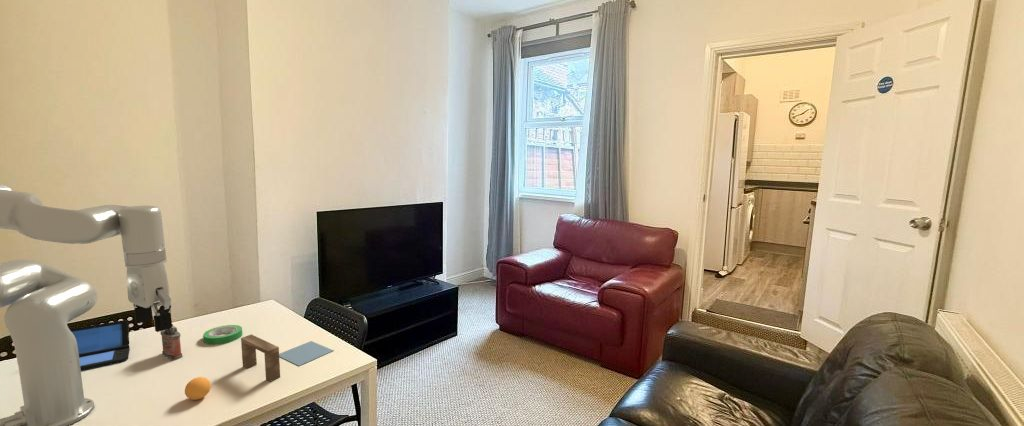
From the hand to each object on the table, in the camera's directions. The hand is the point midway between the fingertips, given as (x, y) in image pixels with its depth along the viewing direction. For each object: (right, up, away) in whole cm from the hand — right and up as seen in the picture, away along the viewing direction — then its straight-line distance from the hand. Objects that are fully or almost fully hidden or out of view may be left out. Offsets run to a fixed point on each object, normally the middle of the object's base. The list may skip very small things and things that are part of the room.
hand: (154, 325), depth 102 cm
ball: (+5, -18, +7) cm, 20 cm away
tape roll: (-12, -16, +42) cm, 47 cm away
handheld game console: (-39, -18, +25) cm, 50 cm away
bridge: (+14, -19, +21) cm, 32 cm away
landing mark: (+21, -18, +33) cm, 43 cm away
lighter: (-19, -17, +29) cm, 39 cm away
